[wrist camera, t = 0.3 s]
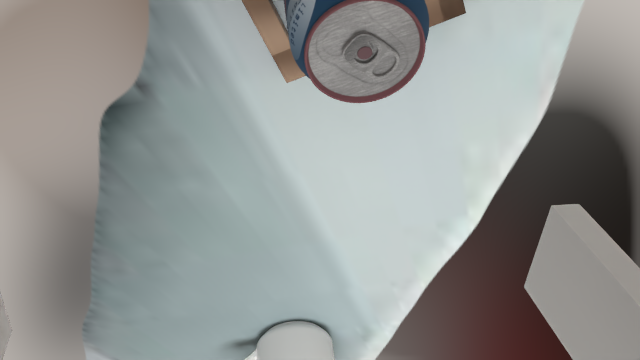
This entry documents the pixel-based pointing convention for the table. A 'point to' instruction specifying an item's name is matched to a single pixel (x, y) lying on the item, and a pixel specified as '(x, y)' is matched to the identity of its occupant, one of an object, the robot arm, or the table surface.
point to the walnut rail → (440, 3)
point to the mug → (294, 343)
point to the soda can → (358, 44)
